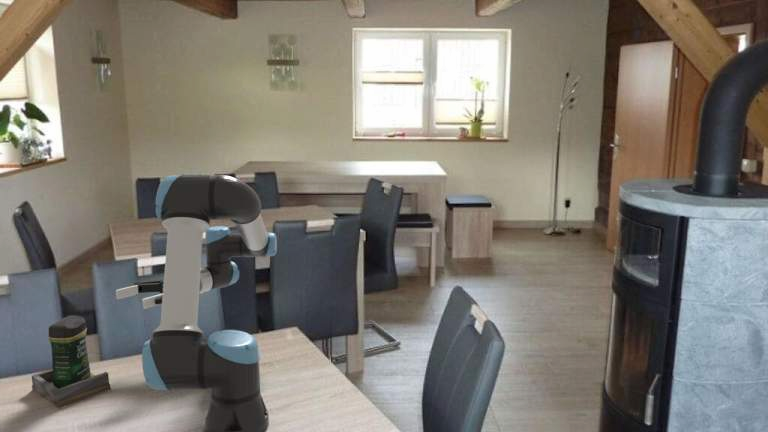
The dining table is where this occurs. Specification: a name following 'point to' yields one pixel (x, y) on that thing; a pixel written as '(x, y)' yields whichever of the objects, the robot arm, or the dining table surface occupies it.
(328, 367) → the dining table surface
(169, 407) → the dining table surface
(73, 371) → the coffee jar
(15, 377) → the dining table surface
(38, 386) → the rail dock
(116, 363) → the dining table surface
